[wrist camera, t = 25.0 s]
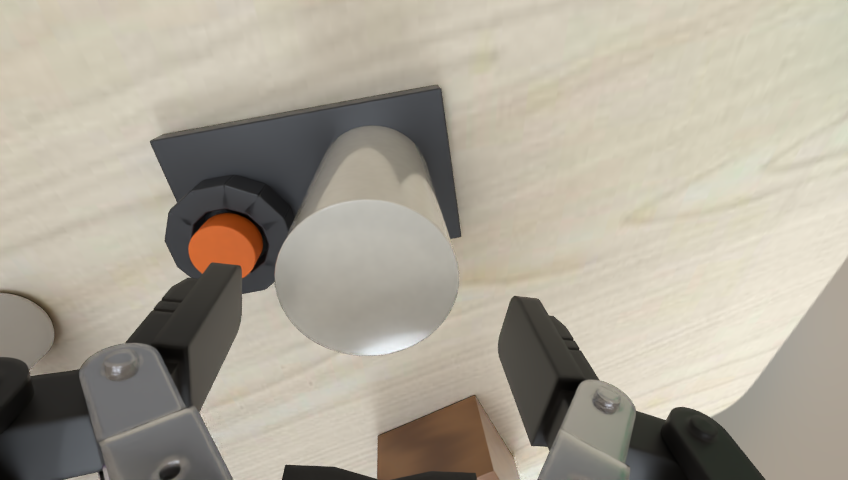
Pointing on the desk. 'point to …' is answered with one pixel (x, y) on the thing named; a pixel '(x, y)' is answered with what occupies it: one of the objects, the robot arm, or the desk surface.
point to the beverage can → (24, 329)
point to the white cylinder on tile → (368, 249)
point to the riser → (447, 445)
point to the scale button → (226, 243)
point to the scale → (287, 167)
